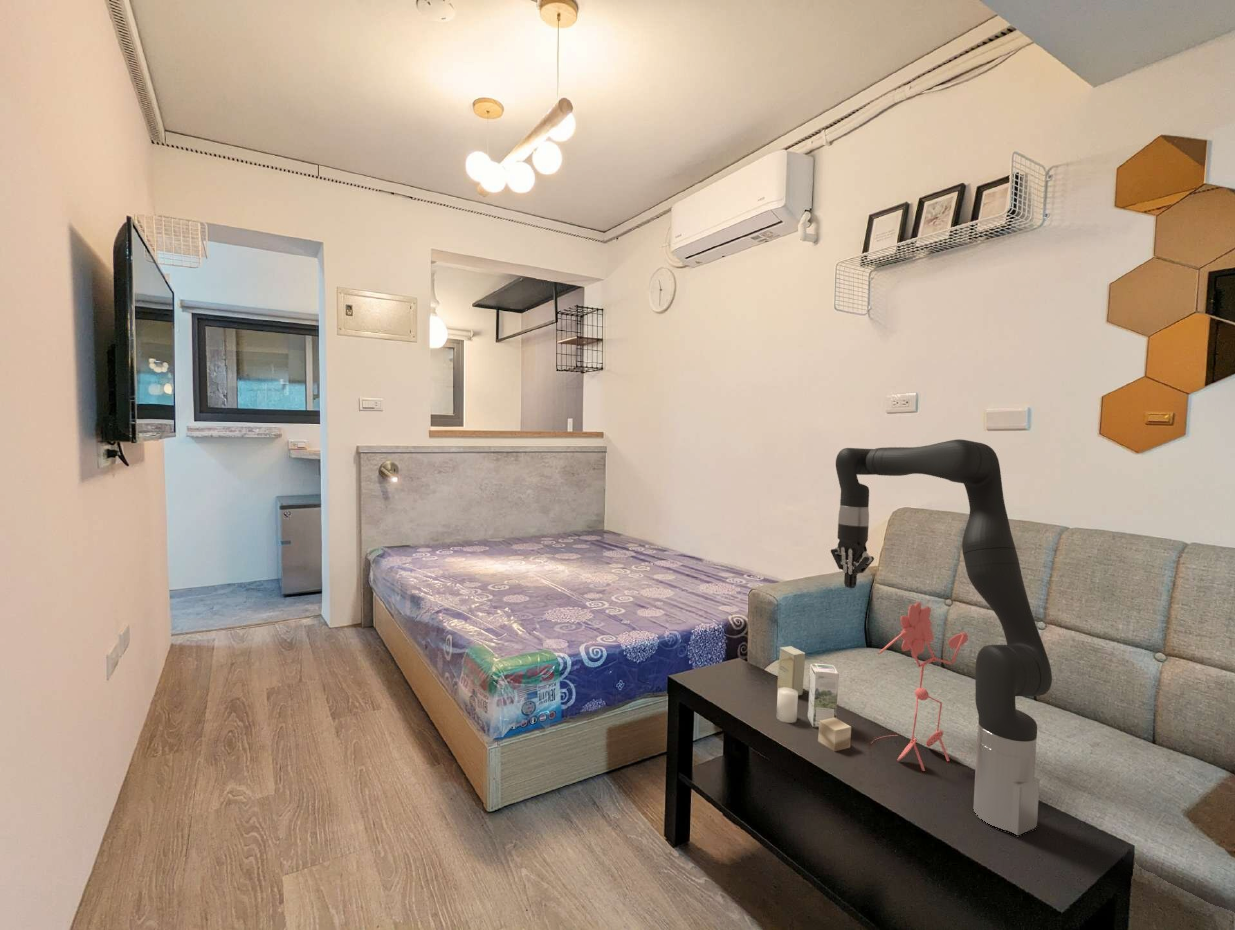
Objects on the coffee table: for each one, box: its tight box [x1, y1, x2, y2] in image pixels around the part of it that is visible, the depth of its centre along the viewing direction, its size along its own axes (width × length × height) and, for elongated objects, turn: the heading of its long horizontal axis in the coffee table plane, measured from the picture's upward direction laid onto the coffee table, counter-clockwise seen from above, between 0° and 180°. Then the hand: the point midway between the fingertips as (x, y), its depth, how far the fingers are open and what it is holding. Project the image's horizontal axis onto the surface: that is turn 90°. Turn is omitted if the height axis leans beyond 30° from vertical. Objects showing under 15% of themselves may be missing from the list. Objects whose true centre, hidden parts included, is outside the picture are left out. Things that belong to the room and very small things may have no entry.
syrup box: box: [806, 662, 840, 729], centre depth 146 cm, size 6×6×14 cm
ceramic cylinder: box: [776, 687, 799, 724], centre depth 148 cm, size 5×5×7 cm
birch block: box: [817, 717, 852, 752], centre depth 136 cm, size 5×5×5 cm
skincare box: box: [776, 645, 806, 696], centre depth 165 cm, size 6×4×12 cm
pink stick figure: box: [869, 601, 969, 772], centre depth 134 cm, size 15×26×35 cm, turn 119°
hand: (849, 587), depth 154 cm, fingers closed
